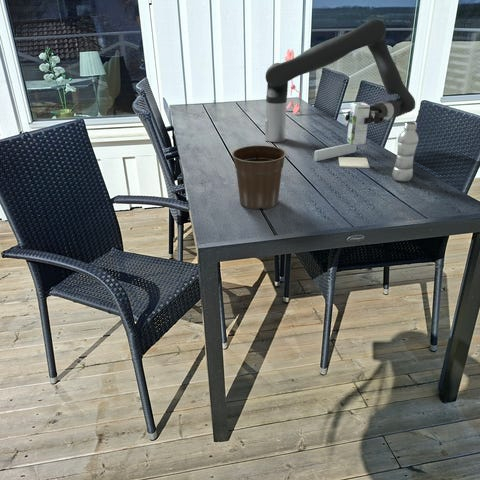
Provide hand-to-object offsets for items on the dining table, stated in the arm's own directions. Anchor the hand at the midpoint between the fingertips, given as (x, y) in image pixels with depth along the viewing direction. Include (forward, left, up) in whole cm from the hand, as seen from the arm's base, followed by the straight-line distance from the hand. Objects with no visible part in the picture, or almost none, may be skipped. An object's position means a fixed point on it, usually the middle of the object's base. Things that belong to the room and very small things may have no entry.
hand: (355, 119), depth 158 cm
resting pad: (+1, +2, -17) cm, 17 cm away
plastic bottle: (+16, -17, -17) cm, 29 cm away
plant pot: (-32, -41, -17) cm, 55 cm away
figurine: (-29, +92, -17) cm, 98 cm away
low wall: (-5, +10, -17) cm, 21 cm away
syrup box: (+1, +2, -9) cm, 10 cm away
